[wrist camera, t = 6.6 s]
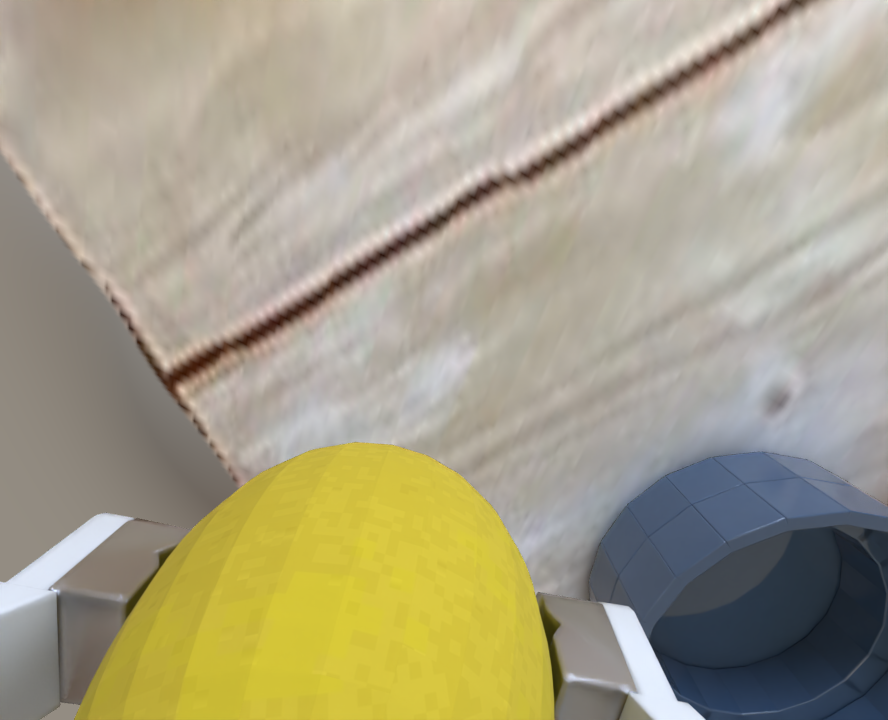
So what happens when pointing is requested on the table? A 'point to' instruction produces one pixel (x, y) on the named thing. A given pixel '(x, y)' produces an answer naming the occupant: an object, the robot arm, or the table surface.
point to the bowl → (757, 588)
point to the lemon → (336, 604)
